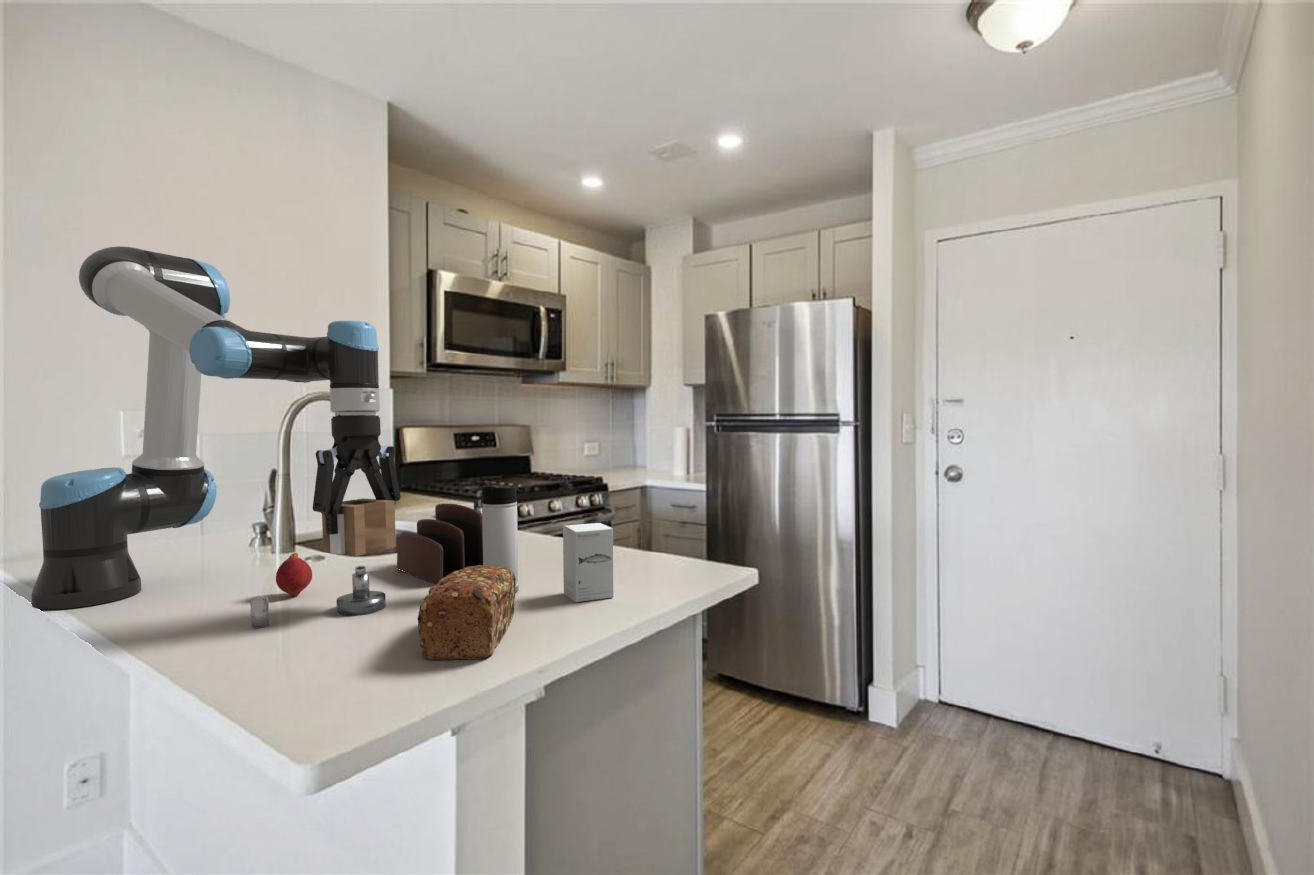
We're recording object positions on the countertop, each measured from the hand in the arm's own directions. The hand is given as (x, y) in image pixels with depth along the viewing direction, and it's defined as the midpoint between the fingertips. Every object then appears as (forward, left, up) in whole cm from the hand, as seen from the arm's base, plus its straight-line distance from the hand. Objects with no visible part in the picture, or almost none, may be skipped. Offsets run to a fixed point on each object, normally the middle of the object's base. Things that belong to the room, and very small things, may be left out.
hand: (360, 548), depth 110 cm
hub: (0, 0, -10) cm, 10 cm away
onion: (-18, 0, -11) cm, 21 cm away
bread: (+27, -3, -11) cm, 29 cm away
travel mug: (+15, +18, -11) cm, 26 cm away
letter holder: (-6, +24, -11) cm, 27 cm away
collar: (0, 0, 0) cm, 0 cm away
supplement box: (+31, +23, -11) cm, 40 cm away
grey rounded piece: (-7, -13, -10) cm, 18 cm away
